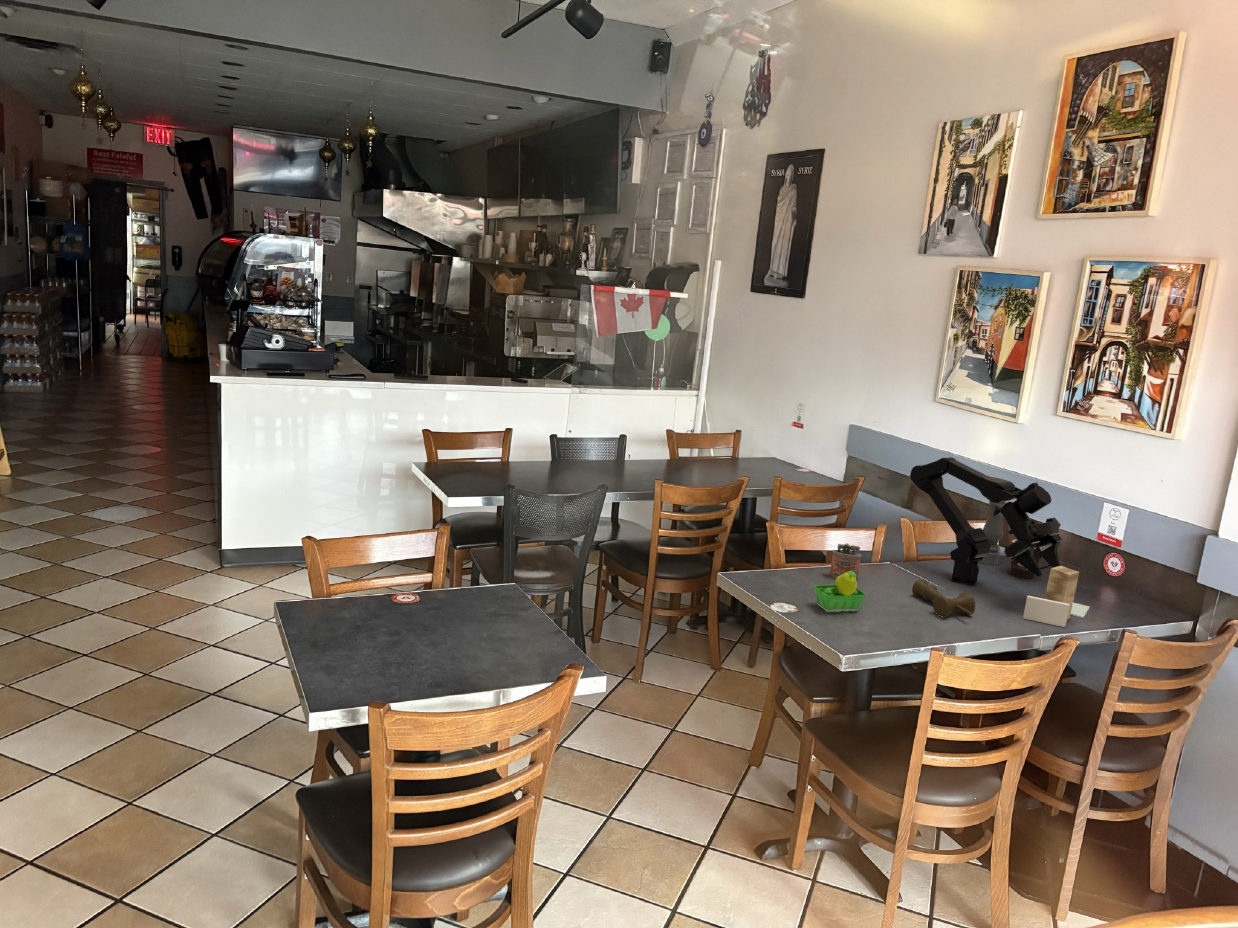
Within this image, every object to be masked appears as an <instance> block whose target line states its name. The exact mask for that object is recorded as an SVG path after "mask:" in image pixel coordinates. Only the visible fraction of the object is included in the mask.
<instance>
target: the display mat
mask: <svg viewBox="0 0 1238 928" xmlns="http://www.w3.org/2000/svg"><path fill="white" fill-rule="evenodd" d="M1090 608H1091V607H1090V606H1088V605H1085V604H1084V605H1083V604H1081V603H1076V602H1073V605H1072V610H1071V614H1070V616H1073V617H1077V618H1081V619H1084V618H1085V615H1086V614H1087V613H1088V612H1089V609H1090Z"/></svg>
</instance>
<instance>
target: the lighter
mask: <svg viewBox="0 0 1238 928" xmlns="http://www.w3.org/2000/svg"><path fill="white" fill-rule="evenodd" d="M857 552H861V546H859V545H853V544H852V545H850V544H849V543H844V544H843V543H838V544H837V549H832V552H831V554H832V556H831V557H832V558H831V562H830V570H829V573H828V576H829V577H830V578H832V579H836V578H837V577H838V576H840V575H842V574H844V573H847V572H848V571H852V572H854V573H855V574H856V582H858V581H859V573H860V564H861V559H862V558H863V557H862V556H863V555H862V554H861V553H857ZM857 580H858V581H857Z"/></svg>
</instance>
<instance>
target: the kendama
mask: <svg viewBox="0 0 1238 928" xmlns="http://www.w3.org/2000/svg"><path fill="white" fill-rule="evenodd" d="M911 590H912V591H911V593H912V595H913V596H914V597H916V596H918V598H921V597H922V598H923V600H925V601H929V602H930V601H932V605H933V606H932V608H933V611H934V614H936V613H937V614H938V615H940V616H943V617H944V618H947V617H948V616H949V615H950V614H952V613H954V612H958V613H961V614H962V615H965V614H966V616H971V615H973V614H974V613H975V611H976V601H975V600H976V599H975V597H974V596H973V595H972V594H971V593H969V592H968V591H967V592H966V591H963V592H960V594H958V596H957V597H956V598H947V597H946V596H944V595H943V594H941V593H940V592H939V591H938V588H937V587H936V586H935V585H932V584H930V585H929V583H928V582H927V580H925V579H922V578H921V579H918V580H916V581H915V582H914V583H913V585H912V587H911ZM937 614H936V615H937ZM938 615H937V616H938ZM940 616H939V617H940Z"/></svg>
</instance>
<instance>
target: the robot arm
mask: <svg viewBox="0 0 1238 928" xmlns="http://www.w3.org/2000/svg"><path fill="white" fill-rule="evenodd" d="M946 474H948V475H951V476H952V477H954V478H956V479H957V480H959V481H961V482H964V483H965V484H967V485H970V486H971V487H973V488H975V489H976V490H978V491H979V493H980V494H981V496H982V497H984V498H986V499H987V500H988V502H989V501H991V502H993V503H999V502H1005V503H1006V504H1004V505H1002V506H1001V505H999V506H995V511H994V514H993V515H994V516H997V515H1002V516H1003V517H1002V518H1003V519H1004V520H1005V523H1006V524H1007V526H1008V527H1009V529H1010V530H1008V535H1010V536H1011V535H1013V536H1014V538H1015V539H1017V541H1015V542H1014V543H1012V542H1011V543H1010V544H1009V545H1007V546H1005V547H1004V554H1005V556H1006V557H1007V559H1011V558H1012V557H1013V558H1012V560H1014V561H1016V562H1018V563H1019V564H1021V565H1022V566H1024V567H1025V568H1027V569H1028V570H1030V571H1031V572H1032V573H1034V574H1035V575H1034V576H1037V577H1038V578H1039V577H1041V576H1043V574H1042V573H1043V572H1042V569H1041V570H1040V568H1041V567H1040V566H1039V563H1038V564H1037V562H1036V560H1035V558H1034V548H1036V550H1038V551H1041V552H1039V553H1038V554H1039V555H1040V556H1041V557H1042V558H1041V559H1043V560H1044V561H1045V562H1046V563H1047V565H1050V567H1051V568H1054V567H1059V566H1061V564H1060V559H1059V554H1058V549H1059V547H1060V546H1061V542H1062V541H1063V539H1062V537H1061V536H1060V534H1058V533H1060V530H1059V529H1060V528H1061V523H1060V522H1059V520H1058V519H1057V518H1056V517H1049V518H1046V521H1045V522H1041V523H1039V522H1038V521H1037V520H1035V519H1031V518H1030V515H1033V514H1035V513H1038V511H1040V510H1041V509H1044V507H1047V506H1048V505H1051V503H1052V496H1051V495H1050V493H1049V491H1047V490H1046V489H1045V488H1044V487H1042V486H1040V485H1039V483H1038V482H1032V483H1030V484H1028V486H1027V487H1024V488H1022V489H1021V488H1019V487H1017V486H1015V484H1014V483H1013V481H1010V480H1006V479H1004V478H1000V477H994V476H989V475H986V474H984V473H983V472H981V471H979V470H977V469H975V468H973V467H970V466H969V465H967V464H965V463H963V462H961V461H959V460H957V459H956V458H954V457H952V456H948V457H941V458H940V459H937V460H935V461H932V462H929V463H926V464H919V465H915V466H913V467H912V468H911V470H910V475H909V479H910V480H911V482H912V483H913V484H914V485H915V486H916V488H918V489H919V490H921V491H922V492H924V493H925V494H927V495H928V496H929V498H930V499H931V501H932V502H933V505H935V506H936V508H937V510H938V512H940V513H941V515H942V517H943V518H944V520H945V521H946V522H947V524H948V525H949V527H950V528H951V530H952V532H953V533H954V535H955V543H956V546H957V547H956V548H955V549H953V550H951V551H950V553H949V555H950V559H951V561H954V562H953V568H952V573H951V577H950V581H952V582H957V583H961V584H967V585H972V586H975V584H976V583H977V582H978V577H979V574H980V573H979V572H980V565H978V564H979V561H982V560H983V558H984V557H985V556H986V555H988V553H989V552H990V547H991V545H990V542H989V541H988V540H990V538H988V537H987V536H986V535H985V533H984V531H983V528H982V527H978V528H974V527H973V526H972V525H971V524H970V523H969V522H968V520H967V518H966V516H964V514H963V513H962V511H961V510H960V508H958V506H957V504H956V503H955V501H954V500H953V498H952V497H951V496H950V494H949V492H948V491H947V490H946V488H945V486H944V481H943V476H944V475H946ZM1012 500H1014V501H1012ZM1028 514H1030V515H1028ZM1014 556H1015V557H1014Z"/></svg>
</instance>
